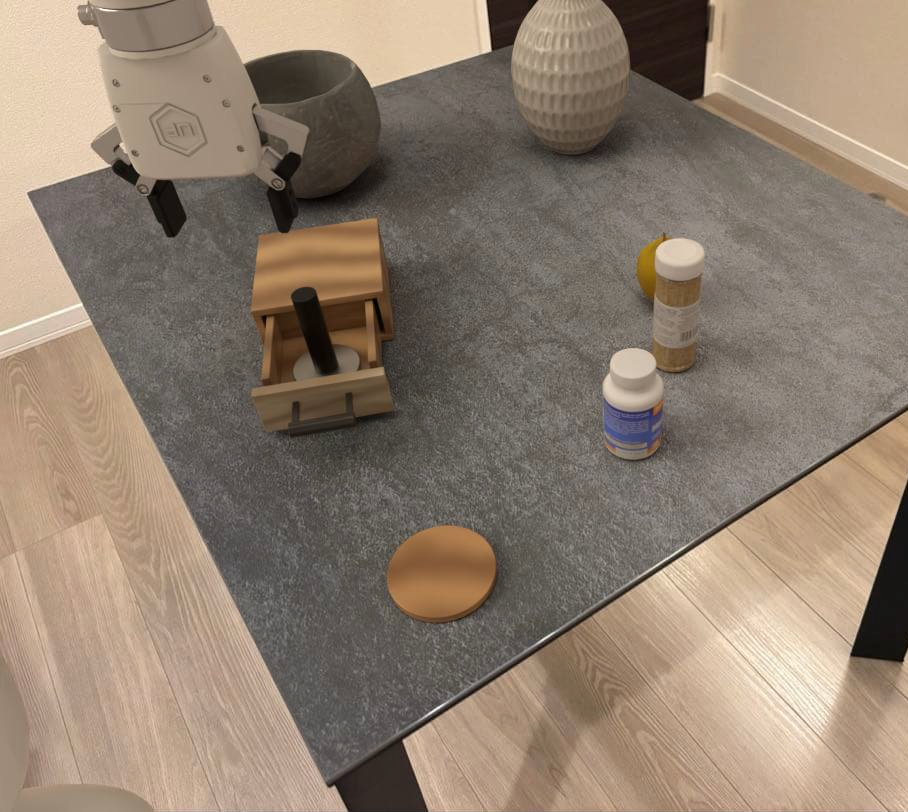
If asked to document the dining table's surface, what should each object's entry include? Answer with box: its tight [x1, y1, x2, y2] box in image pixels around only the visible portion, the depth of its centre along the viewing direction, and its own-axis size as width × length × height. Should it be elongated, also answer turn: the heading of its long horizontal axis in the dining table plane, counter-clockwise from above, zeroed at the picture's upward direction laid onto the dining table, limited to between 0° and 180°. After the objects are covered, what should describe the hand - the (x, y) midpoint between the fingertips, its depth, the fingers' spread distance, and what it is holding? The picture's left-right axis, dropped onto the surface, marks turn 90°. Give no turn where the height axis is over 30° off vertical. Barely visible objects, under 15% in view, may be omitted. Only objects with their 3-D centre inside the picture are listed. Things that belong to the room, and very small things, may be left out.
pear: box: [636, 231, 674, 302], centre depth 90 cm, size 6×6×8 cm
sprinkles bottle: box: [651, 237, 706, 373], centre depth 81 cm, size 5×5×14 cm
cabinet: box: [250, 217, 395, 346], centre depth 93 cm, size 15×14×7 cm
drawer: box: [251, 298, 395, 439], centre depth 82 cm, size 18×12×5 cm
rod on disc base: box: [291, 287, 361, 381], centre depth 81 cm, size 7×7×10 cm
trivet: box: [386, 524, 498, 624], centre depth 68 cm, size 9×9×1 cm
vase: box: [510, 0, 631, 156], centre depth 112 cm, size 16×16×22 cm
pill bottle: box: [602, 347, 665, 461], centre depth 74 cm, size 5×5×10 cm
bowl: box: [243, 49, 382, 199], centre depth 112 cm, size 21×21×15 cm
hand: (232, 226), depth 71 cm, fingers open, 9 cm apart
